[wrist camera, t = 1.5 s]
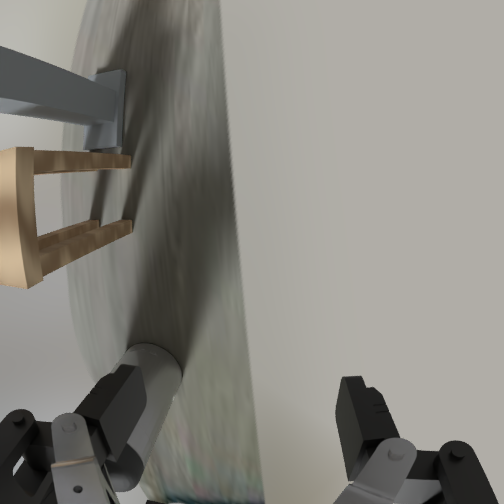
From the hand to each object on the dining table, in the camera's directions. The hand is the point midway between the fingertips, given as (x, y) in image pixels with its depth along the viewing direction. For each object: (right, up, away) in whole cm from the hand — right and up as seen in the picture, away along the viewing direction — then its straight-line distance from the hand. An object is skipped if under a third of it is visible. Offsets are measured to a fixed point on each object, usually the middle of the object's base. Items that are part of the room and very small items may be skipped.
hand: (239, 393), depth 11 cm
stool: (-18, +13, +25) cm, 33 cm away
